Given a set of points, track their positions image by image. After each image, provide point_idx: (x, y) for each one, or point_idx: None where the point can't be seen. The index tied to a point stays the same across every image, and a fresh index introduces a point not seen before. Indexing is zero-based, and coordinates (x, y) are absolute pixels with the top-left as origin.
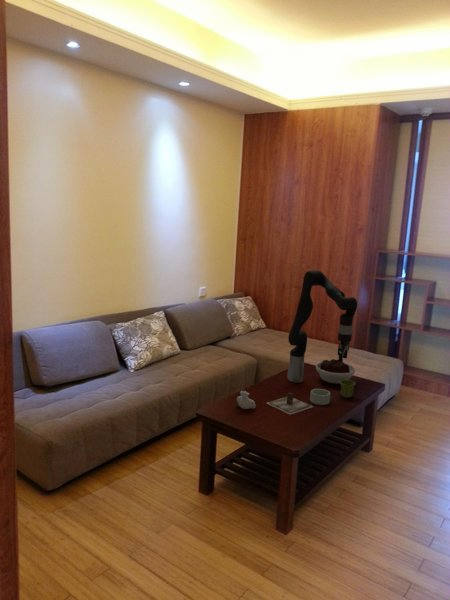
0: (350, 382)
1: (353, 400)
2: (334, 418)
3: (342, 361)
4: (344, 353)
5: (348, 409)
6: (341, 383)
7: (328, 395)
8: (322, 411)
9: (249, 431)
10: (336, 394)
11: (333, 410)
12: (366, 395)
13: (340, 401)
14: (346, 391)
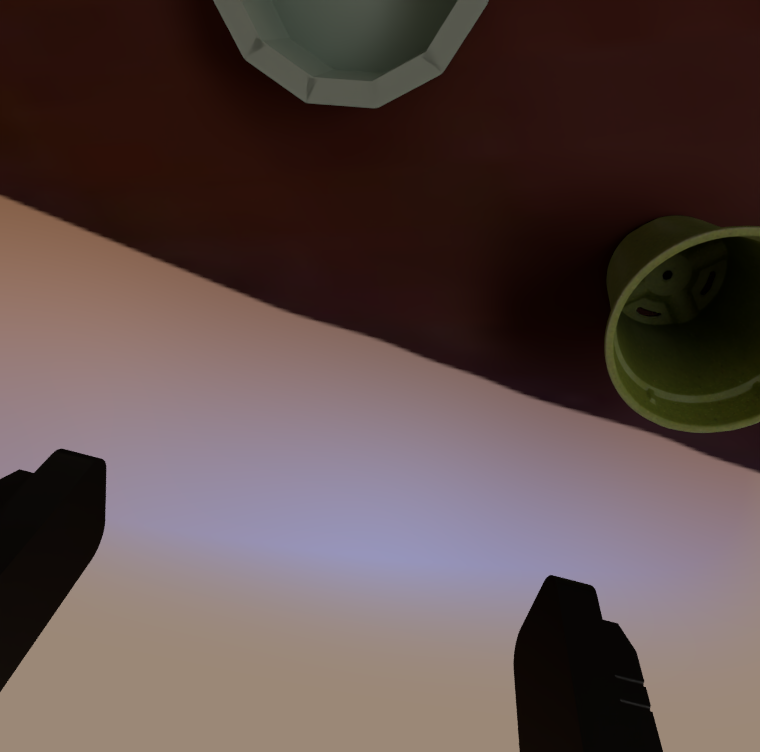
0: None
1: (549, 340)
2: (8, 180)
3: (90, 552)
4: (557, 739)
5: (289, 298)
6: (657, 257)
7: (285, 87)
8: (101, 35)
9: None
10: (696, 154)
11: (192, 155)
12: (728, 455)
13: (475, 213)
14: (612, 294)
